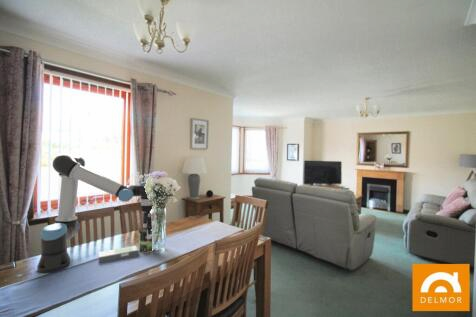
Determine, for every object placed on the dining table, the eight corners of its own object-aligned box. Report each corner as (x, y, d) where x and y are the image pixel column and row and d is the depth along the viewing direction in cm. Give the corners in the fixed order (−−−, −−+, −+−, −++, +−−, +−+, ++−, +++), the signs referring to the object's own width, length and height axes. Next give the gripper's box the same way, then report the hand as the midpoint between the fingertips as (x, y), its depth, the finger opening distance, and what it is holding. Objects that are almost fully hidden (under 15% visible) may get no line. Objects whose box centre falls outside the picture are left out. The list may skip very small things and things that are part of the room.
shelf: (98, 263, 141) (98, 257, 141) (98, 255, 152) (98, 250, 152) (138, 255, 153) (138, 250, 152) (135, 248, 163) (135, 243, 163)
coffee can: (157, 249, 162) (158, 229, 162) (143, 254, 154) (144, 233, 153) (149, 245, 168) (149, 226, 168) (135, 250, 160) (135, 229, 160)
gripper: (156, 207, 151) (157, 240, 152) (149, 200, 173) (149, 229, 173) (144, 209, 147) (144, 242, 148) (138, 201, 169) (138, 231, 170)
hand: (147, 235), depth 161 cm, fingers open, 13 cm apart
